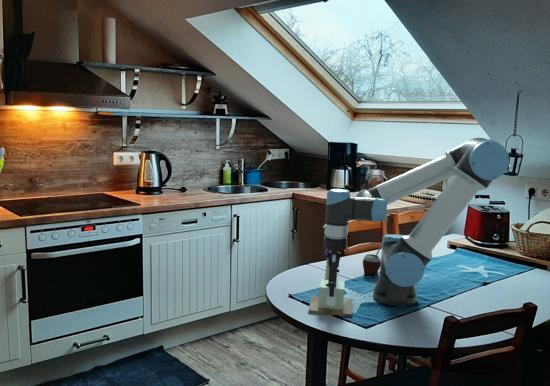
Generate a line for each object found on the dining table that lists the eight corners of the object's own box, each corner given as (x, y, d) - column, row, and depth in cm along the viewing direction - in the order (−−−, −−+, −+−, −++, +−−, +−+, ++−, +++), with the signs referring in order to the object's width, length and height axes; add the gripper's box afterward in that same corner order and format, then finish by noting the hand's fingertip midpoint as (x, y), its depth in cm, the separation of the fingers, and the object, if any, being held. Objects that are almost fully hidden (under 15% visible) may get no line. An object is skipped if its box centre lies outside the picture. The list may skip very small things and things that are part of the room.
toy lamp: (325, 286, 203) (328, 243, 200) (336, 289, 200) (339, 245, 197) (318, 289, 199) (320, 245, 196) (328, 292, 196) (331, 248, 194)
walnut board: (351, 301, 189) (352, 298, 188) (352, 317, 175) (352, 314, 175) (311, 297, 190) (311, 295, 190) (308, 313, 177) (308, 310, 177)
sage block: (343, 301, 186) (344, 281, 185) (342, 309, 178) (344, 289, 177) (319, 299, 187) (320, 279, 186) (318, 307, 179) (319, 287, 178)
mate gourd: (358, 273, 221) (361, 237, 219) (376, 271, 224) (379, 236, 221) (367, 278, 214) (370, 241, 212) (385, 277, 217) (388, 241, 214)
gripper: (325, 227, 191) (322, 284, 195) (322, 245, 167) (318, 310, 170) (347, 228, 190) (343, 286, 194) (346, 246, 166) (342, 313, 170)
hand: (331, 298), depth 182 cm, fingers open, 13 cm apart
